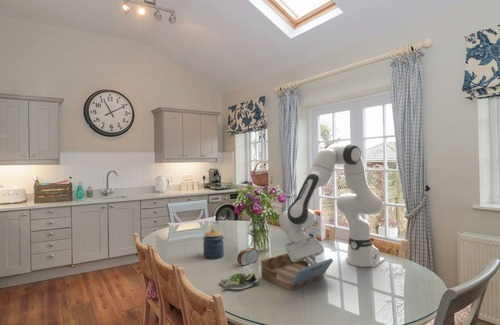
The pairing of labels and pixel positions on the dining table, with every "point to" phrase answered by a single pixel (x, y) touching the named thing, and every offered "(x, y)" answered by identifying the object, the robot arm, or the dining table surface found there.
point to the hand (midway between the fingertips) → (314, 265)
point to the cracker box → (318, 225)
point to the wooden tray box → (284, 271)
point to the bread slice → (247, 256)
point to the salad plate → (239, 281)
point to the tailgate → (311, 271)
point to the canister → (213, 244)
